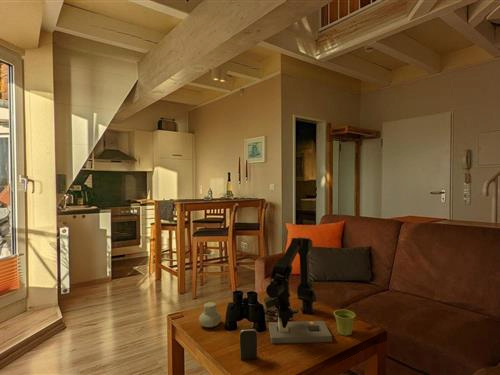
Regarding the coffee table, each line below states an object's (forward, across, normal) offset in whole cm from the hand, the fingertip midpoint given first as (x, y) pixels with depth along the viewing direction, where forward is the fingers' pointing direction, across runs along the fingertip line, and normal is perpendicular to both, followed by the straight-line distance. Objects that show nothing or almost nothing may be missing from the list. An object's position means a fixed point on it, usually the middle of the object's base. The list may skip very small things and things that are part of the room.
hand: (283, 324), depth 137 cm
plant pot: (+5, 0, +28) cm, 28 cm away
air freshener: (+5, -11, -34) cm, 36 cm away
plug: (+5, 0, 0) cm, 5 cm away
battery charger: (+5, +16, -16) cm, 23 cm away
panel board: (+4, 0, +7) cm, 8 cm away
